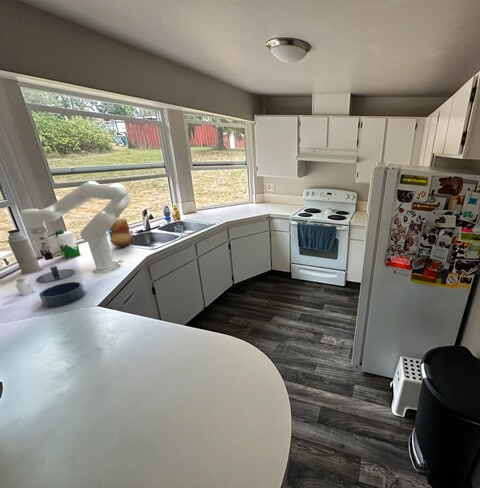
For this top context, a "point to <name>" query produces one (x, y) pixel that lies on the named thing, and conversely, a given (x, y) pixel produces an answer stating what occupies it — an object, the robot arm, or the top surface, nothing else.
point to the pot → (62, 294)
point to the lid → (55, 274)
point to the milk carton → (67, 243)
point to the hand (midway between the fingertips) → (47, 257)
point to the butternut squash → (121, 233)
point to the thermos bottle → (23, 252)
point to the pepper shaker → (23, 286)
